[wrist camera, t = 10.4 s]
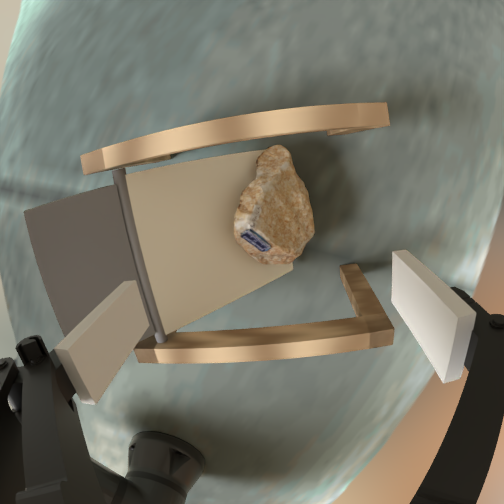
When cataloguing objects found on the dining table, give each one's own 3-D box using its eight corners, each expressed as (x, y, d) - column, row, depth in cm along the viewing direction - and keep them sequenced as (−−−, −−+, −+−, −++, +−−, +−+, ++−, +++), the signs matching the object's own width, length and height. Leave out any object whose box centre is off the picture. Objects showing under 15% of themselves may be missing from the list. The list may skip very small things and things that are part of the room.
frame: (182, 293, 38) (138, 362, 24) (152, 149, 32) (80, 155, 19) (356, 275, 35) (392, 344, 22) (343, 120, 30) (386, 102, 16)
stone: (208, 224, 26) (243, 229, 22) (267, 139, 29) (304, 134, 26) (262, 277, 31) (298, 286, 28) (308, 196, 34) (342, 197, 31)
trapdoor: (72, 352, 23) (85, 379, 20) (21, 198, 19) (20, 196, 15) (262, 266, 38) (294, 274, 34) (244, 148, 33) (277, 142, 30)
